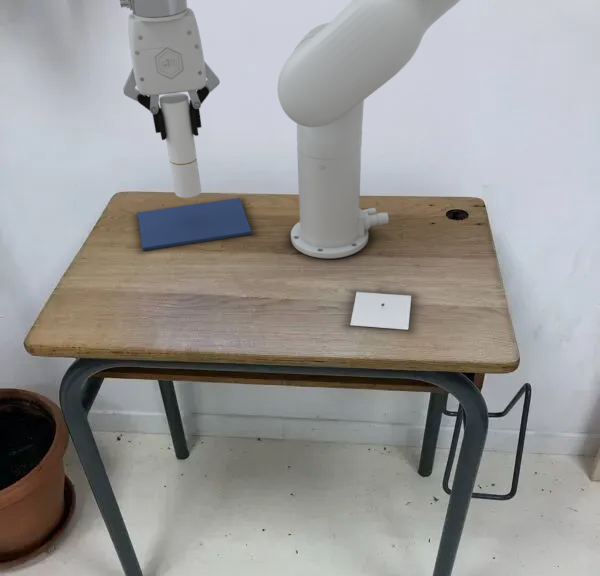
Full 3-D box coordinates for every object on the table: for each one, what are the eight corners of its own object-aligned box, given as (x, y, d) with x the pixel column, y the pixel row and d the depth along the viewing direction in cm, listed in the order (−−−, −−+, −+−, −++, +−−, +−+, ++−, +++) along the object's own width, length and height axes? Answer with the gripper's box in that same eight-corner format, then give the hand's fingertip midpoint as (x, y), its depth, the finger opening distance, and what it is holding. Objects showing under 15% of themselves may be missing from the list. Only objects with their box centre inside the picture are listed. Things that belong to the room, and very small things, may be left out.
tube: (196, 198, 112) (182, 104, 101) (171, 196, 112) (155, 103, 102) (204, 186, 115) (191, 93, 104) (179, 184, 115) (165, 92, 105)
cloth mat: (239, 200, 123) (239, 197, 123) (251, 234, 115) (251, 231, 114) (138, 215, 121) (137, 212, 120) (143, 250, 112) (142, 247, 112)
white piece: (350, 325, 96) (350, 320, 96) (356, 292, 102) (356, 287, 101) (408, 329, 95) (408, 325, 94) (411, 295, 101) (411, 291, 100)
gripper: (97, 16, 90) (125, 151, 103) (224, 3, 93) (236, 137, 106) (95, 1, 96) (123, 131, 108) (216, -11, 98) (229, 118, 111)
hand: (179, 133), depth 107 cm, fingers closed on tube, 4 cm apart
